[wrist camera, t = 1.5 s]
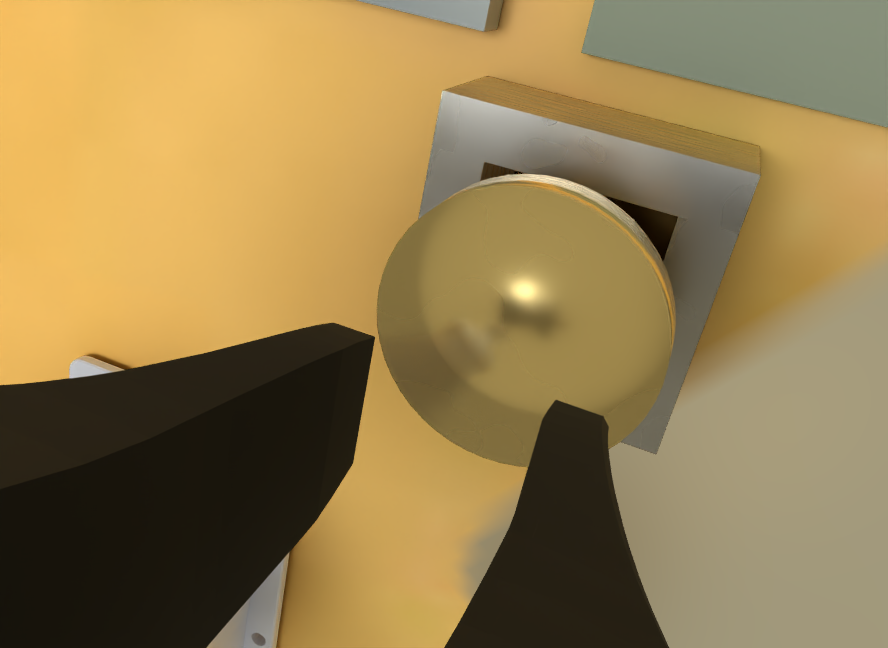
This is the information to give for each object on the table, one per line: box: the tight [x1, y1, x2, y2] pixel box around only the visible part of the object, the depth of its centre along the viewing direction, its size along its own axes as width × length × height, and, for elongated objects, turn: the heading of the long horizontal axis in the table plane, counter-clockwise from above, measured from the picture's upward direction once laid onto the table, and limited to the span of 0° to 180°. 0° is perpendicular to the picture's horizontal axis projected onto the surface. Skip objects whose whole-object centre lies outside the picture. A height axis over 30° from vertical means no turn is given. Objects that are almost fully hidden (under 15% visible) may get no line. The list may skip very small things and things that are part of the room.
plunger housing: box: [418, 76, 761, 454], centre depth 17 cm, size 6×6×3 cm
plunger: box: [377, 174, 676, 467], centre depth 15 cm, size 5×5×4 cm
